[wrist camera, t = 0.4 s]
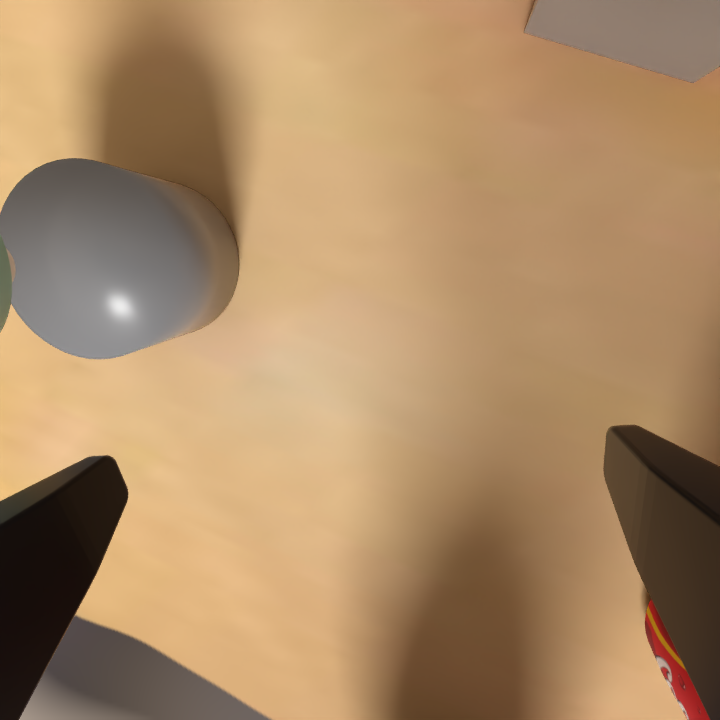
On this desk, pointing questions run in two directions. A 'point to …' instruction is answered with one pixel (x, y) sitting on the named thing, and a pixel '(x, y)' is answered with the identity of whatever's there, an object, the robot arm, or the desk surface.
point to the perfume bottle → (637, 32)
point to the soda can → (672, 666)
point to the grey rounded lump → (114, 258)
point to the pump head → (5, 282)
